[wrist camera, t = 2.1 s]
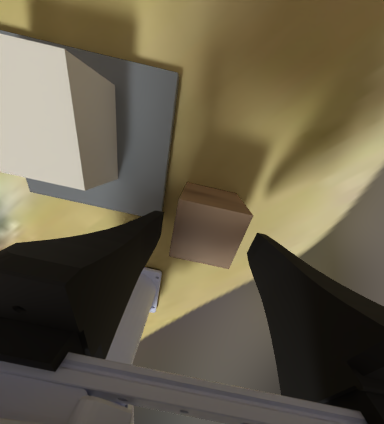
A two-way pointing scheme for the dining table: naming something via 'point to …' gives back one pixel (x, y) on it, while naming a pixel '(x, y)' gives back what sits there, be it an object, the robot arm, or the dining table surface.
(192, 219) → the walnut cube
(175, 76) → the slate board
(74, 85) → the cream block
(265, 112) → the dining table surface
